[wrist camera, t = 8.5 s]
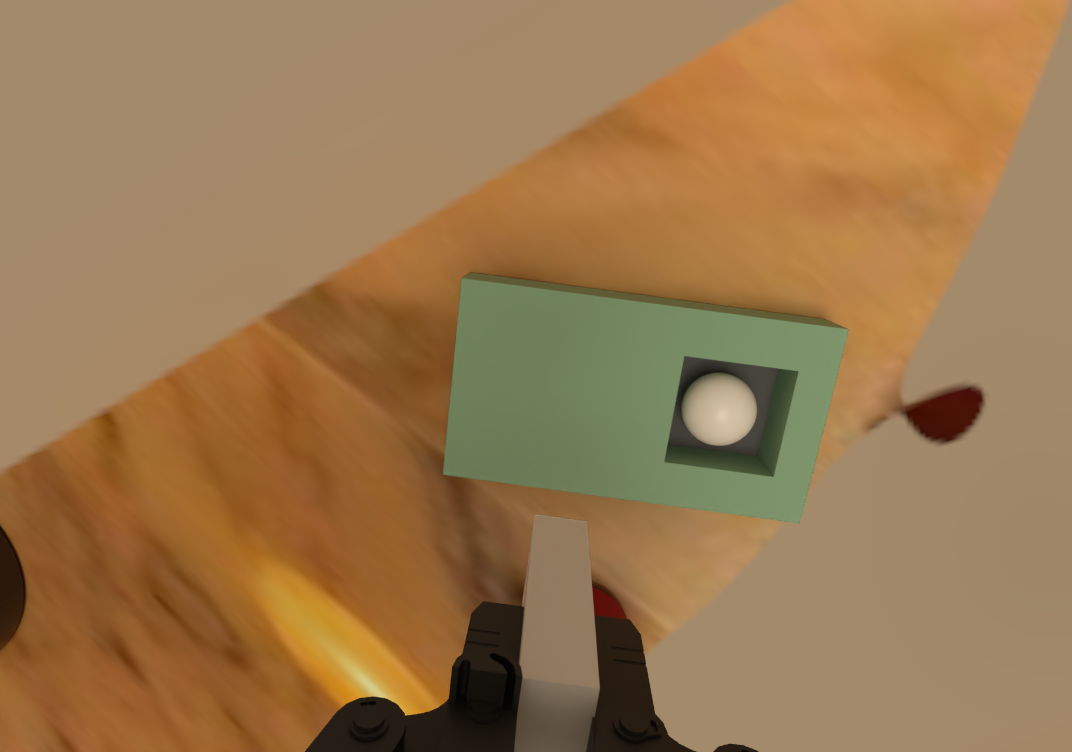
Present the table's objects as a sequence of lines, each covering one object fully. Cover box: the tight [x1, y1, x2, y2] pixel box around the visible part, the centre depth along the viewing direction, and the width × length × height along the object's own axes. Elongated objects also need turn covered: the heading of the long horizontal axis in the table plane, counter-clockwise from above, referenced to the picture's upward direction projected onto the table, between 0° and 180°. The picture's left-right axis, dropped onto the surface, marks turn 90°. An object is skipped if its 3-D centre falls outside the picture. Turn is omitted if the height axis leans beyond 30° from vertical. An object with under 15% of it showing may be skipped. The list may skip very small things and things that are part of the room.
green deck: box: [443, 272, 849, 523], centre depth 36 cm, size 20×11×3 cm, turn 83°
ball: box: [681, 373, 757, 446], centre depth 35 cm, size 4×4×4 cm
